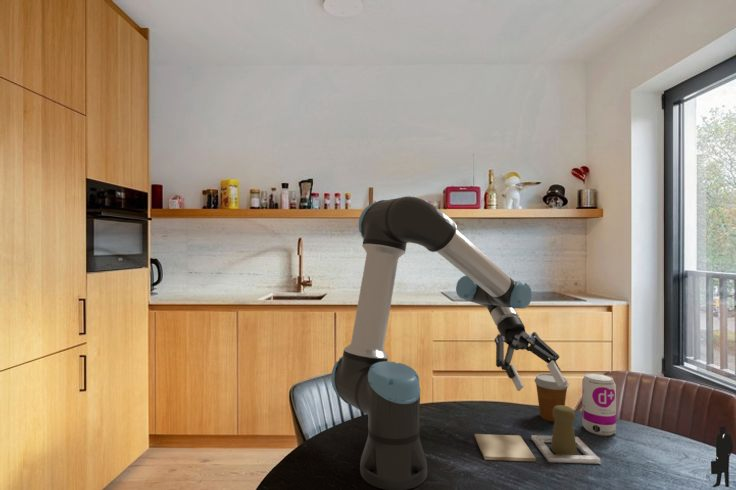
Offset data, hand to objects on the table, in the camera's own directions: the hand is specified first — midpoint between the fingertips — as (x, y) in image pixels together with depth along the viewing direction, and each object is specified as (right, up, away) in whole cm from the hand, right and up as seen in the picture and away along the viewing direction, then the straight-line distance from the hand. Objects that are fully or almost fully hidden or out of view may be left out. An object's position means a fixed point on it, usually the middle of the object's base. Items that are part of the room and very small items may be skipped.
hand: (541, 386), depth 111 cm
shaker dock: (+2, -13, -9) cm, 16 cm away
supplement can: (+17, -14, +3) cm, 22 cm away
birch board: (-13, -13, -8) cm, 20 cm away
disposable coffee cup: (+8, -14, +12) cm, 20 cm away
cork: (+2, -13, -9) cm, 16 cm away
